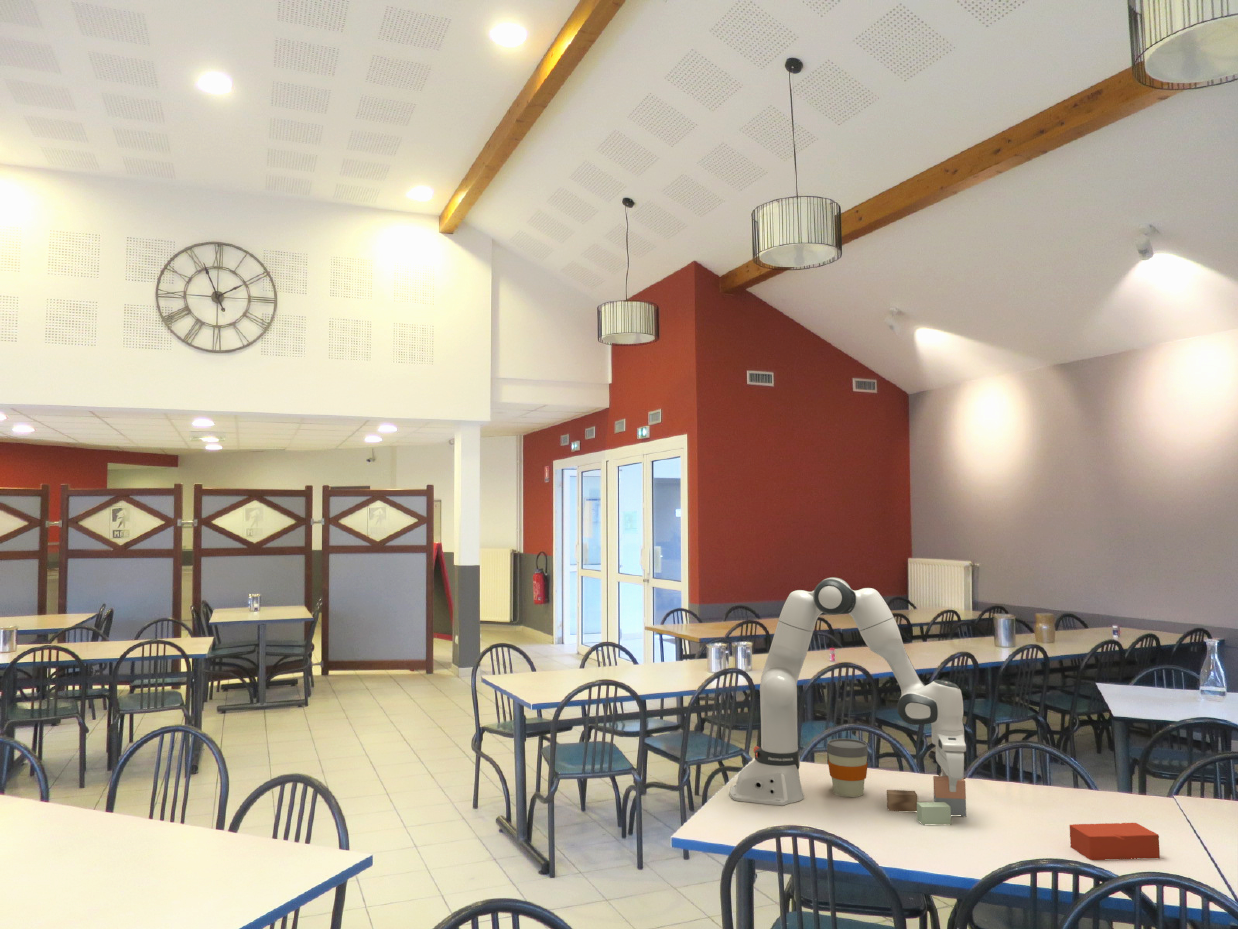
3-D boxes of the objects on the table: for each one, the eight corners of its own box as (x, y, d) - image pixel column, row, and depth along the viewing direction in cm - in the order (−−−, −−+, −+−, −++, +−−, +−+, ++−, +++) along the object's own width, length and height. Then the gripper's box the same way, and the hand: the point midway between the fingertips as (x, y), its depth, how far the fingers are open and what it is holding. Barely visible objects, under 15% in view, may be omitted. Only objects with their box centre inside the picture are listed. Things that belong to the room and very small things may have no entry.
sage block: (922, 825, 238) (921, 807, 239) (917, 820, 242) (916, 802, 243) (951, 825, 239) (950, 806, 239) (945, 820, 243) (944, 802, 243)
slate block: (936, 815, 246) (936, 797, 246) (934, 811, 250) (933, 793, 250) (966, 817, 245) (965, 799, 245) (963, 812, 249) (962, 795, 249)
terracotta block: (936, 797, 247) (935, 780, 247) (933, 793, 250) (933, 776, 251) (965, 799, 245) (965, 781, 246) (962, 794, 249) (962, 777, 249)
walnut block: (889, 811, 250) (888, 794, 250) (887, 807, 254) (886, 789, 254) (917, 812, 249) (917, 795, 249) (915, 808, 253) (914, 791, 253)
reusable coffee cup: (819, 789, 271) (818, 741, 272) (850, 784, 276) (849, 736, 277) (845, 801, 259) (844, 750, 260) (878, 795, 264) (876, 745, 266)
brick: (1137, 846, 223) (1136, 822, 223) (1160, 859, 214) (1159, 835, 214) (1069, 847, 222) (1068, 824, 222) (1090, 861, 213) (1089, 836, 213)
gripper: (929, 729, 260) (931, 776, 259) (943, 746, 239) (945, 797, 239) (951, 730, 259) (952, 777, 258) (967, 747, 238) (969, 798, 237)
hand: (949, 787), depth 248 cm, fingers open, 7 cm apart
